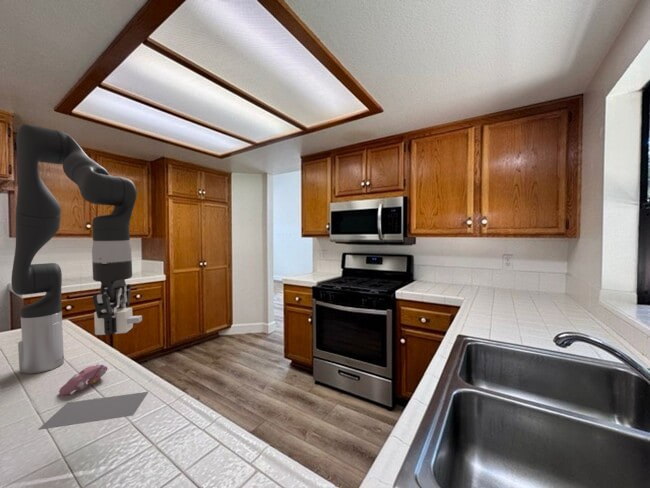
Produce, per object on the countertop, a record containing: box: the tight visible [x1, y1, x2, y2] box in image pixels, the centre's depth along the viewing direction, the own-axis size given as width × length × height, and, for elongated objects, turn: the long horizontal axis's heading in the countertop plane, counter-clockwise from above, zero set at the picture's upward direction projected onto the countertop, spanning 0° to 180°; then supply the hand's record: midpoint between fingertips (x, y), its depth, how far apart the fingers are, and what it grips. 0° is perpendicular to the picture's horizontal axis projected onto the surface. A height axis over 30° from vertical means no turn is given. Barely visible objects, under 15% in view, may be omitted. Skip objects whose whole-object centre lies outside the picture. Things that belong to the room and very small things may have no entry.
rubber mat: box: [38, 391, 149, 431], centre depth 67 cm, size 18×10×1 cm, turn 105°
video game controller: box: [58, 363, 108, 396], centre depth 78 cm, size 10×5×7 cm, turn 170°
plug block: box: [93, 307, 143, 336], centre depth 68 cm, size 9×4×5 cm, turn 105°
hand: (115, 330), depth 68 cm, fingers closed on plug block, 4 cm apart
